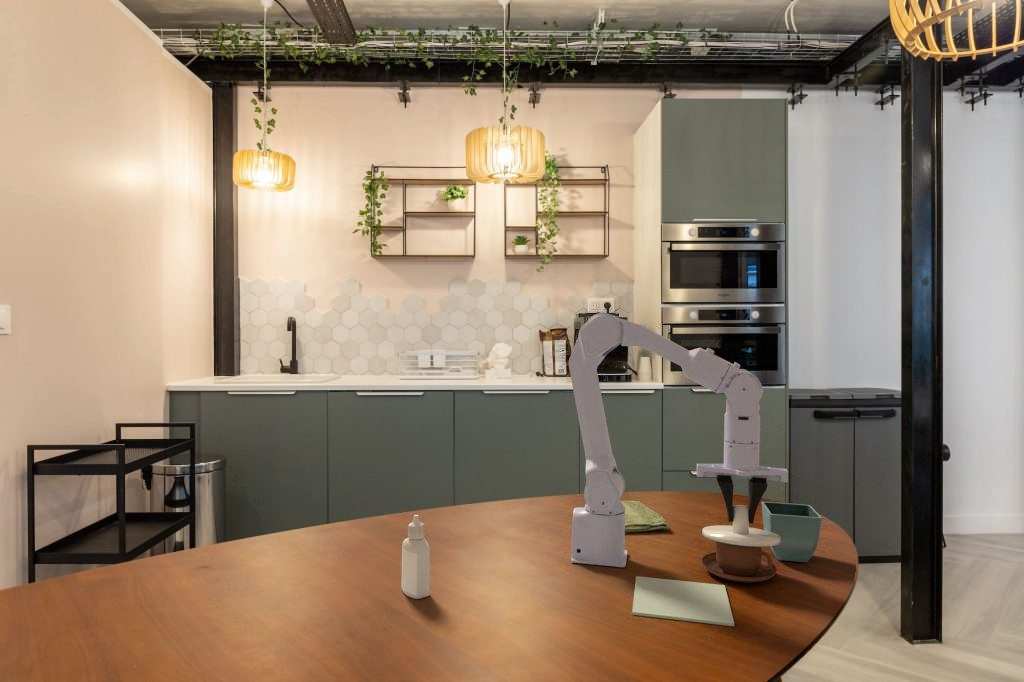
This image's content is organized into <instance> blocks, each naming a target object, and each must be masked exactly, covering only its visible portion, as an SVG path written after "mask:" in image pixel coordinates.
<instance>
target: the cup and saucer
mask: <svg viewBox="0 0 1024 682" xmlns="http://www.w3.org/2000/svg"><path fill="white" fill-rule="evenodd" d="M715 542H716V543H715V552H711V553H707V554H705V555H703V556H702V557H701V564H702V566H703V568H705V570H706V571H708V572H709V573H711V574H712V575H714V576H716V577H719V578H721V579H724V580H727V581H731V582H737V583H747V584H748V583H750V584H751V583H761V582H764V581H767V580H770V579H771V578H773V577H774V576H776V574H777V566H776V565H775V564H773V559H772V558H771V557H772V556H771V555H770V554H769V553H767V552H766V551H763V550H762V549H763V547H757V546H742V545H734V544H727V543H722V542H718V541H715ZM762 556H763V557H765V558H766V559H765V558H763V557H762Z"/></svg>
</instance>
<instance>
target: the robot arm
mask: <svg viewBox="0 0 1024 682" xmlns="http://www.w3.org/2000/svg"><path fill="white" fill-rule="evenodd" d="M577 336H578V337H577V339H576V341H575V344H574V346H573V349H572V352H571V354H570V356H569V359H568V369H569V373H570V379H571V385H572V389H573V396H574V401H575V407H576V413H577V417H578V423H579V428H580V434H581V440H582V445H583V449H584V456H585V471H584V472H585V479H586V480H585V481H586V483H585V487H584V489H583V490H584V491H583V499H584V502H585V504H584V506H583V507H580V506H579V507H574V508H573V513H572V522H571V523H572V524H571V543H570V544H571V558H570V562H571V563H577V564H583V565H585V564H586V565H594V566H595V565H597V566H606V567H617V568H625V567H626V564H627V559H628V552H629V551H628V550H627V549H625V547H626V545H625V541H626V540H625V538H626V537H625V535H626V533H625V507H624V505H623V504H622V503H621V501H622V500H621V498H622V496H623V494H624V493H625V489H626V480H625V478H624V477H623V475H622V473H621V472H620V471H619V469H618V466H617V461H616V459H615V456H614V454H613V453H614V452H613V450H612V444H611V439H610V435H609V434H610V433H609V429H608V423H607V416H606V413H605V407H604V402H603V397H602V391H601V384H600V381H599V376H598V370H597V369H598V366H599V365H601V363H602V361H604V359H605V357H606V356H607V355H608V354H609V353H610V352H611V351H614V350H615V349H616V348H617V347H618V346H619V345H621V346H622V347H640V348H643V349H645V350H647V351H649V352H651V353H653V354H655V355H657V356H659V357H661V358H664V359H665V360H668V361H670V362H672V363H674V364H676V365H678V366H679V367H681V371H682V374H683V376H684V377H685V378H686V379H689V380H690V381H692V382H693V383H696V384H698V385H700V386H701V387H704V388H705V389H708V390H710V391H711V392H713V393H715V394H722V393H723V394H724V395H725V396H726V401H725V403H726V404H725V406H726V407H725V409H726V410H725V413H724V416H723V417H724V421H723V422H724V423H723V425H724V426H723V427H724V429H723V430H724V432H723V463H696V477H697V478H703V477H704V478H705V477H710V478H711V477H712V478H715V479H716V482H717V484H718V486H719V489H720V491H721V494H722V497H723V500H724V504H725V508H726V509H725V510H726V515H727V521H728V522H729V523H733V505H734V502H733V500H734V483H733V479H742V480H747V482H748V486H747V487H748V502H747V506H748V507H749V524H754V522H755V517H756V513H757V509H758V506H759V504H760V502H761V500H762V498H763V496H764V494H765V493H766V491H767V489H768V482H767V481H774V482H775V481H776V482H781V483H789V471H788V469H787V468H781V467H780V468H779V467H773V466H771V467H770V466H763V465H762V466H761V465H760V447H761V445H760V443H761V438H760V437H761V415H760V410H761V406H760V401H761V399H762V397H763V394H764V389H763V388H762V387H763V385H762V383H761V381H760V379H759V378H758V377H757V376H756V375H755V374H753V373H752V372H749V370H747V369H744V368H741V364H739V363H738V362H736V361H734V363H731V362H730V361H728V360H726V359H723V358H722V357H720V356H718V355H716V354H715V350H713V349H712V348H709V347H707V348H706V349H704V348H702V347H698V348H693V349H690V350H688V349H687V348H685V347H683V346H681V345H679V344H678V343H676V342H674V341H673V340H671V339H668V338H667V337H664V336H663V335H661V334H659V333H657V332H655V331H653V330H651V329H650V328H648V327H647V326H645V325H642V324H639V323H637V322H633V321H629V320H627V319H625V318H624V319H623V318H620V317H619V316H617V315H614V314H610V313H607V312H605V313H604V312H600V313H596V314H594V315H592V316H591V317H590V318H588V319H587V321H586V322H585V323H584V324H583V325H582V326H581V328H580V329H579V332H578V335H577Z"/></svg>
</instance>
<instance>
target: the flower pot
mask: <svg viewBox="0 0 1024 682" xmlns="http://www.w3.org/2000/svg"><path fill="white" fill-rule="evenodd" d="M760 502H761V514H762V524H763V530H766V531H770V532H773V533H775V534H778V535H779V536H780V544H778V545H775V546H769V547H770V549H771V551H772V553H773V555H774V556H775V558H776V560H778V561H785V562H786V561H787V562H798V563H799V562H800V563H808V561H809V560H810V559H811V558H812V556H813V555H814V553H815V552H816V549H817V548H818V546H819V545H818V544H819V540H820V534H821V533H820V532H821V528H822V520H823V517H822V516H821V515H820V514H819V512H817V511H816V510H815V508H813V506H812V505H810V504H804V503H786V502H784V503H783V502H775V501H774V502H773V501H760Z"/></svg>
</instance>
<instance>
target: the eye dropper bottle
mask: <svg viewBox="0 0 1024 682" xmlns="http://www.w3.org/2000/svg"><path fill="white" fill-rule="evenodd" d="M407 525H408V527H407V528H408V529H407V533H408V534H407V538H405V539H404V540H403V541H402V544H401V547H402V548H401V590H402V592H403V594H404V595H406V596H407V597H409V598H411V599H415V600H418V599H423V598H427V597H429V596H430V592H431V591H430V589H431V586H430V585H431V584H430V583H431V581H430V579H431V578H430V577H431V549H430V545H429V543H428V542H427V540H426V538H425V524H424V523H423V522H421V521H420V516H419V514H414V515H413V519H412V522H410V523H409V524H407Z"/></svg>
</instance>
